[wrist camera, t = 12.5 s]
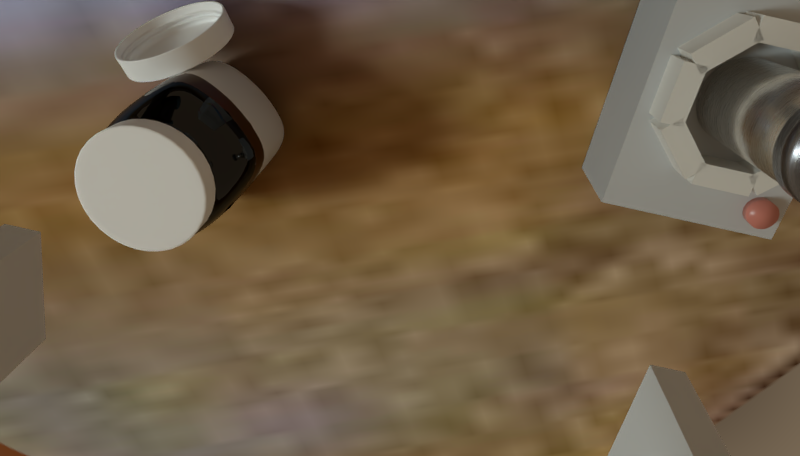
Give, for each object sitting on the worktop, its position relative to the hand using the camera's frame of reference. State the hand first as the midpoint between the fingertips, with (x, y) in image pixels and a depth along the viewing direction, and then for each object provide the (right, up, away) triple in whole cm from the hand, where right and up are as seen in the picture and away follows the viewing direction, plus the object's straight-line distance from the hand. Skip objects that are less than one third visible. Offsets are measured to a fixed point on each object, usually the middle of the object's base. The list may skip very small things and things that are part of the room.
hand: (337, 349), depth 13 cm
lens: (+19, +9, +19) cm, 29 cm away
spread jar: (-11, +11, +28) cm, 32 cm away
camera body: (+20, +12, +25) cm, 34 cm away
